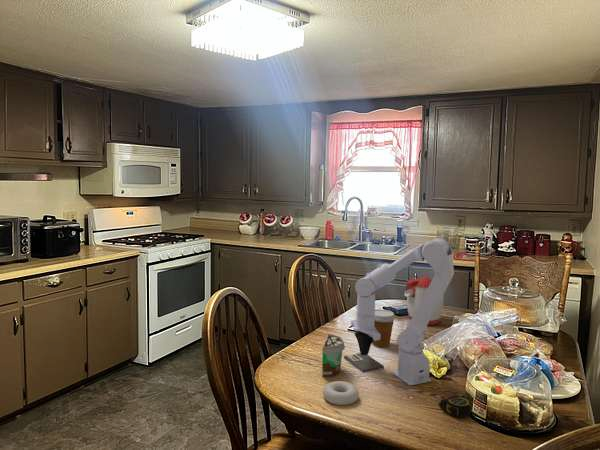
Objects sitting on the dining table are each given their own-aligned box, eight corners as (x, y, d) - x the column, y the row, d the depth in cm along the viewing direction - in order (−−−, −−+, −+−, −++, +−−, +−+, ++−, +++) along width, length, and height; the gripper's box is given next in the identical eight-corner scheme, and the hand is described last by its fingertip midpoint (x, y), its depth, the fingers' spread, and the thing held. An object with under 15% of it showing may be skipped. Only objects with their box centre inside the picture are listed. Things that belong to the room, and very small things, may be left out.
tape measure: (455, 404, 123) (456, 391, 123) (476, 416, 117) (477, 402, 117) (438, 411, 120) (438, 397, 119) (459, 423, 114) (460, 409, 114)
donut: (365, 398, 127) (335, 386, 133) (365, 386, 126) (336, 375, 132) (345, 412, 119) (315, 399, 125) (346, 399, 118) (315, 387, 125)
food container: (341, 381, 136) (342, 349, 135) (321, 378, 137) (322, 347, 136) (345, 364, 148) (346, 335, 147) (327, 362, 149) (328, 333, 148)
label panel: (383, 368, 146) (383, 365, 145) (362, 372, 142) (362, 368, 142) (363, 354, 156) (364, 351, 156) (343, 358, 153) (343, 354, 153)
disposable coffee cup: (366, 347, 163) (367, 315, 162) (368, 338, 172) (370, 308, 171) (393, 350, 161) (394, 317, 159) (394, 341, 170) (395, 310, 168)
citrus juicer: (395, 317, 199) (397, 272, 196) (429, 314, 204) (431, 271, 202) (414, 329, 184) (416, 281, 182) (450, 325, 189) (453, 278, 187)
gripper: (343, 308, 150) (342, 348, 152) (367, 321, 137) (365, 364, 138) (362, 306, 153) (360, 345, 155) (386, 319, 140) (385, 361, 141)
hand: (364, 354), depth 147 cm, fingers closed
